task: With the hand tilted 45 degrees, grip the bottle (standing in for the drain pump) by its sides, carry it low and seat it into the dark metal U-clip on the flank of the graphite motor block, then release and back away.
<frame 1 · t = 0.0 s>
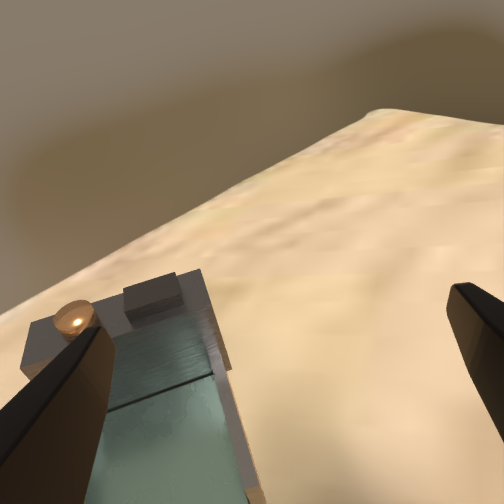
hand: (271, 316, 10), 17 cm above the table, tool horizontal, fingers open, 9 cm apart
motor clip: (161, 460, 24), on the table
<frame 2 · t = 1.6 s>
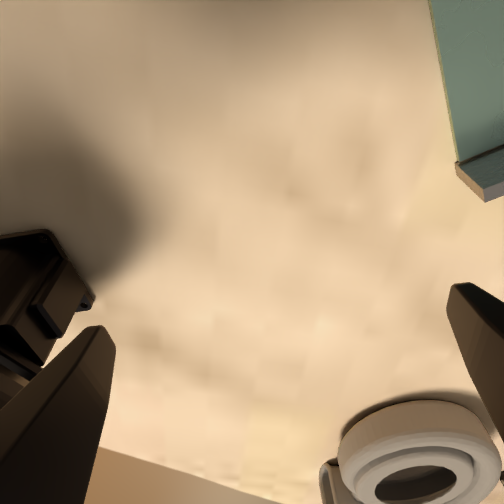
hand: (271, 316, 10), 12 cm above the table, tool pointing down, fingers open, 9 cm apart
turbocharger housing: (399, 437, 39), on the table
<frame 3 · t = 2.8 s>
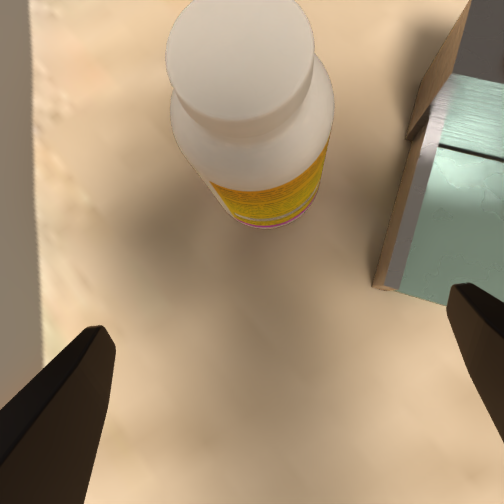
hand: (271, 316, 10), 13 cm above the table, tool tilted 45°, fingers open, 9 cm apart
supplement bottle: (267, 180, 24), on the table
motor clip: (485, 237, 22), on the table
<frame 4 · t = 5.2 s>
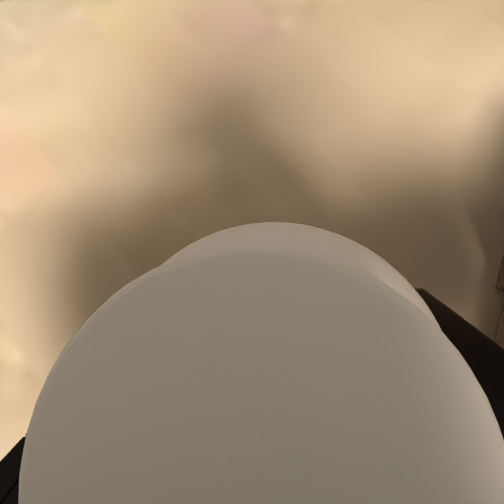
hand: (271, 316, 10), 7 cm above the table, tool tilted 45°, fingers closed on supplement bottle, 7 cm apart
supplement bottle: (284, 341, 16), on the table, touching gripper
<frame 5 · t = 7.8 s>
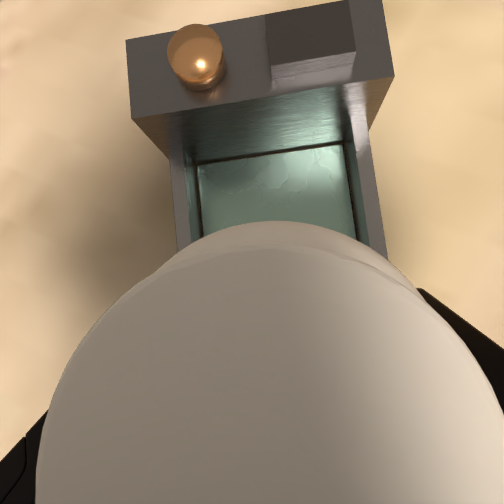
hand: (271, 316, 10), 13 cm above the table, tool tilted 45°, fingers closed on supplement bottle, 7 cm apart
supplement bottle: (280, 339, 16), point 6 cm above the table, touching gripper
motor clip: (277, 227, 23), on the table
when the fingers open (8 cm above the table, at t = 10.2 s): supplement bottle stays where it is, resting on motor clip.
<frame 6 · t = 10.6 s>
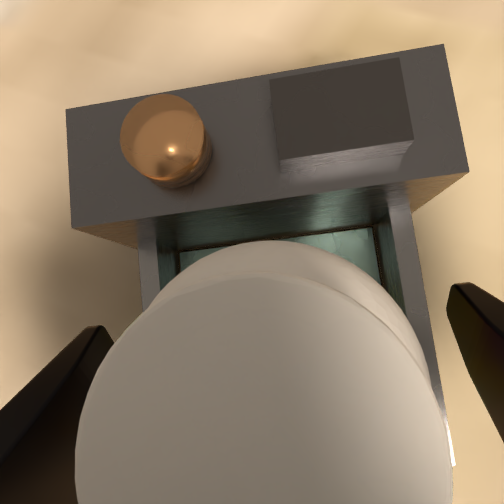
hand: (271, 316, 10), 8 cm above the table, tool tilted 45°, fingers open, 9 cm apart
supplement bottle: (282, 342, 17), resting on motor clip
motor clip: (285, 338, 17), on the table
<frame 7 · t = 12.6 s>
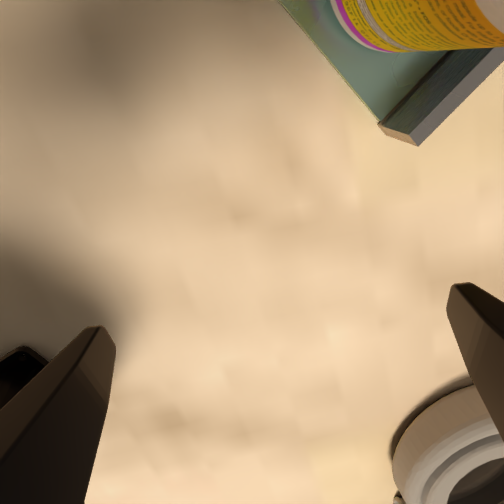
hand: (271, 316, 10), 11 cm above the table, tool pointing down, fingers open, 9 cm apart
turbocharger housing: (455, 439, 36), on the table
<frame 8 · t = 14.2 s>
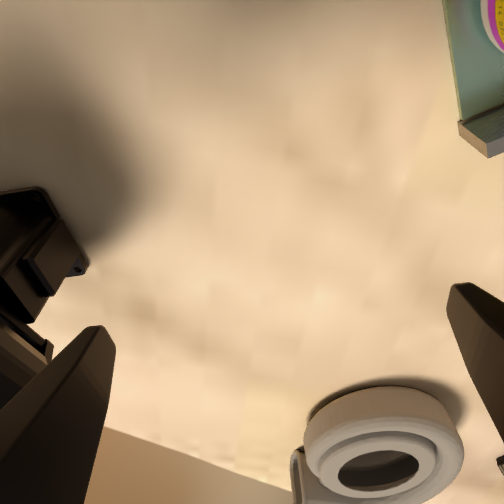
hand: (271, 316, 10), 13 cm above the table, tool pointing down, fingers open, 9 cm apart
turbocharger housing: (367, 425, 39), on the table
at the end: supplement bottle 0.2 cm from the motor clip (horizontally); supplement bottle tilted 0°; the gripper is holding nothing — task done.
